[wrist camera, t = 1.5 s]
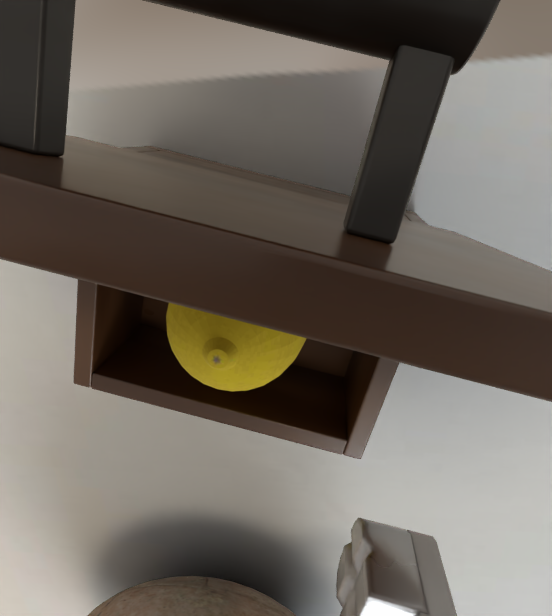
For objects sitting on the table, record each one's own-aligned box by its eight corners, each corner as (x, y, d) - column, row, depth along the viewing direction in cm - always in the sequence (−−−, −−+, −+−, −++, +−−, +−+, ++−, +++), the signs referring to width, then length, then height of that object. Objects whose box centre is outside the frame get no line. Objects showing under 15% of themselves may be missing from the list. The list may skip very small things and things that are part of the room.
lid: (786, 466, 4) (1319, -250, 2) (-528, 125, 4) (-811, -716, 3) (447, 256, 14) (507, 96, 12) (73, 162, 14) (87, -6, 12)
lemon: (212, 209, 20) (141, 254, 12) (328, 240, 19) (327, 303, 12) (194, 315, 22) (124, 408, 14) (298, 343, 22) (282, 451, 14)
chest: (353, 385, 23) (361, 460, 18) (131, 327, 23) (72, 384, 18) (415, 212, 19) (448, 241, 14) (149, 145, 20) (82, 149, 14)
